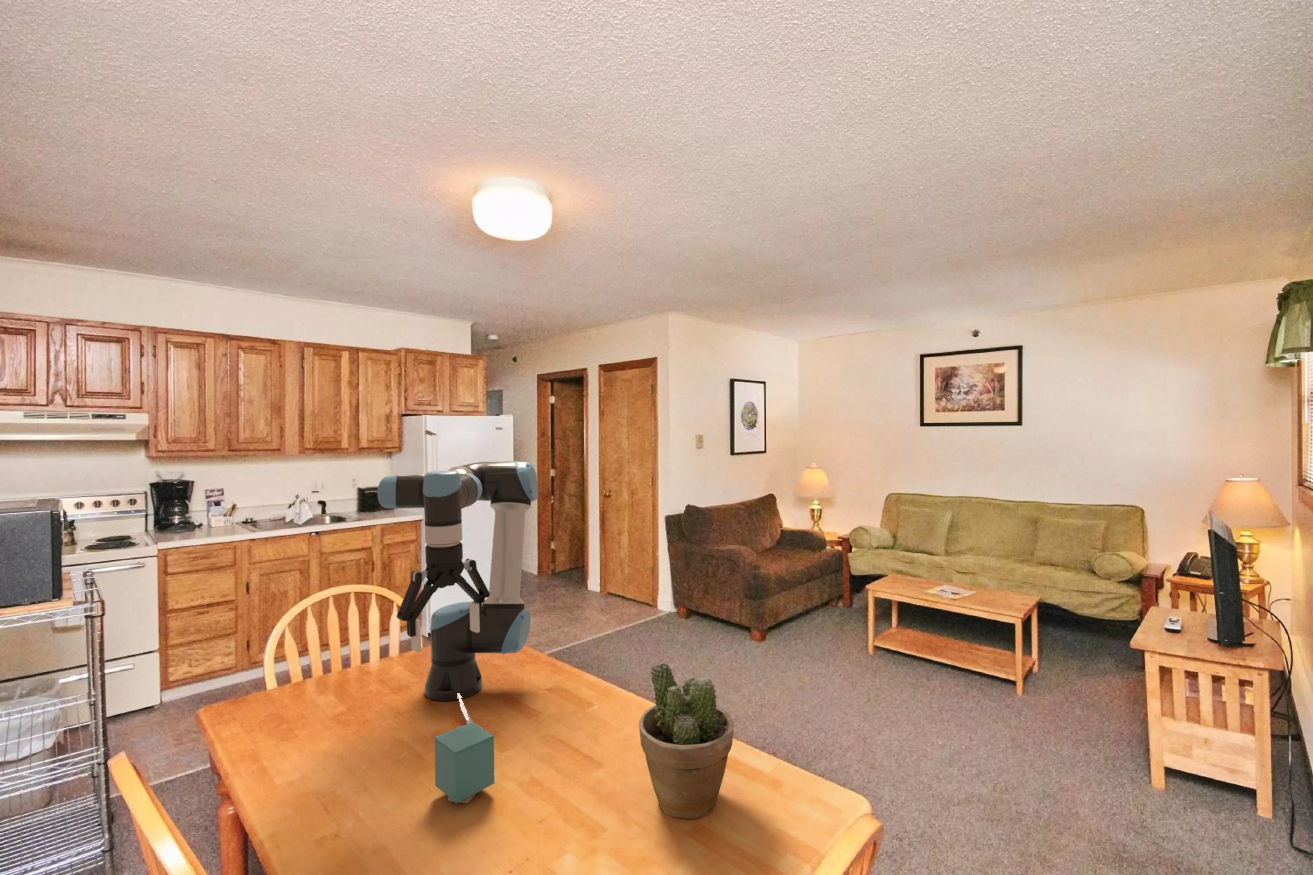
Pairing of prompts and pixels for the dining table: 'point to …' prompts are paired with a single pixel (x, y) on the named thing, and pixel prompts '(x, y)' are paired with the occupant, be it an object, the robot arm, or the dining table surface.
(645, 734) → the potted plant
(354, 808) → the dining table surface
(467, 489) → the robot arm
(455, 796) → the teal block
